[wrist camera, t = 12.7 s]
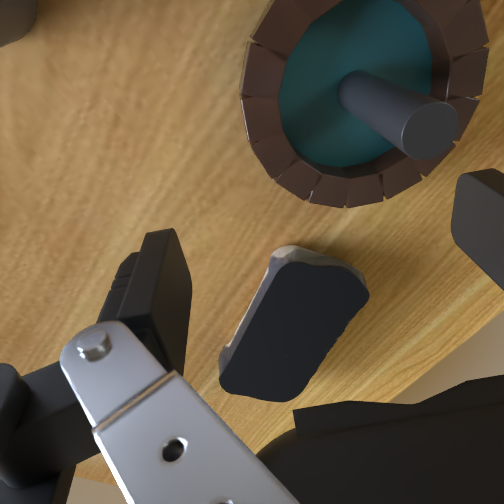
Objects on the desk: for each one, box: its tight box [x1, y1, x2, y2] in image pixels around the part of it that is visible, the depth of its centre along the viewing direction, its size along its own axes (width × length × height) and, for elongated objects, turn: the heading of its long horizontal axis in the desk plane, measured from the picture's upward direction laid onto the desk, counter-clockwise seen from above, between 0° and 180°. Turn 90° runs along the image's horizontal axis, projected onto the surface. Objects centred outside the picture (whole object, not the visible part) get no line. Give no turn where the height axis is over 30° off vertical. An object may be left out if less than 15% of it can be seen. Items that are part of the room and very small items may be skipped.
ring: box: [239, 0, 489, 208], centre depth 23 cm, size 14×14×2 cm
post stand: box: [279, 0, 459, 168], centre depth 20 cm, size 10×10×11 cm
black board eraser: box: [219, 245, 369, 402], centre depth 33 cm, size 16×8×4 cm, turn 158°
